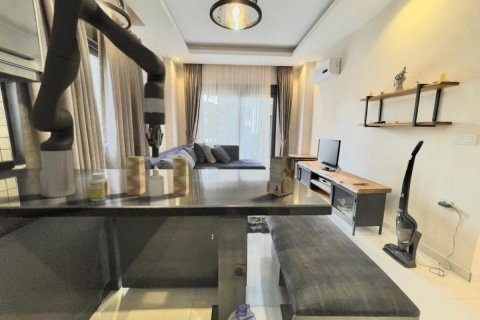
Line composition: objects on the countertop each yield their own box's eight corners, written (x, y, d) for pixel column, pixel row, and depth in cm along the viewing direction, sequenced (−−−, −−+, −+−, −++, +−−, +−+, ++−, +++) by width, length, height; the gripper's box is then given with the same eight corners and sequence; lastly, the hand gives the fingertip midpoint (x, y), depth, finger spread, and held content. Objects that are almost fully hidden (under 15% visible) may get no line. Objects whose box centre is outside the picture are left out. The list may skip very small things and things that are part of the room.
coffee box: (282, 190, 100) (283, 155, 98) (293, 193, 95) (296, 156, 93) (268, 193, 94) (270, 156, 92) (280, 197, 89) (282, 158, 87)
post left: (127, 195, 87) (125, 157, 85) (133, 191, 92) (131, 156, 90) (140, 195, 87) (139, 157, 85) (145, 191, 92) (144, 156, 90)
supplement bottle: (96, 202, 78) (94, 175, 76) (88, 199, 80) (86, 173, 79) (111, 198, 82) (110, 173, 81) (103, 196, 85) (101, 171, 84)
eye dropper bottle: (160, 198, 84) (159, 167, 83) (146, 197, 85) (145, 166, 83) (165, 194, 88) (165, 165, 87) (152, 193, 89) (152, 164, 88)
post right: (173, 195, 87) (172, 158, 85) (176, 192, 92) (176, 156, 90) (186, 195, 88) (185, 158, 86) (188, 192, 93) (188, 157, 91)
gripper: (151, 112, 89) (152, 155, 91) (136, 109, 76) (138, 159, 78) (169, 113, 89) (170, 155, 91) (158, 110, 76) (159, 160, 78)
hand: (155, 157), depth 85 cm, fingers closed
